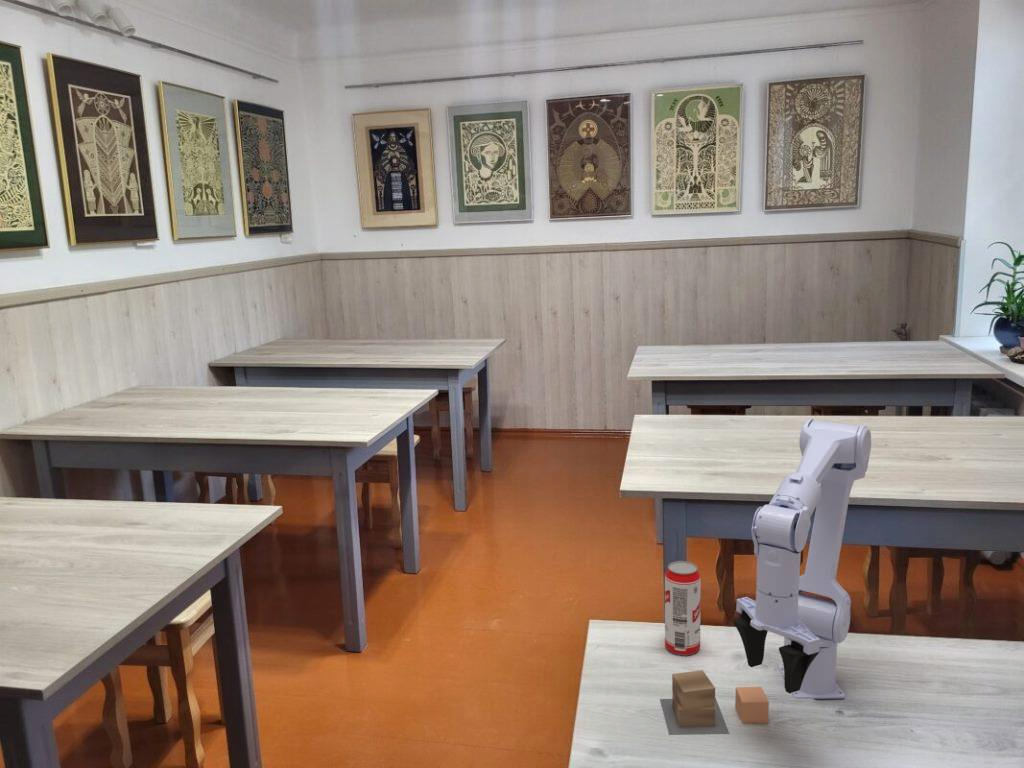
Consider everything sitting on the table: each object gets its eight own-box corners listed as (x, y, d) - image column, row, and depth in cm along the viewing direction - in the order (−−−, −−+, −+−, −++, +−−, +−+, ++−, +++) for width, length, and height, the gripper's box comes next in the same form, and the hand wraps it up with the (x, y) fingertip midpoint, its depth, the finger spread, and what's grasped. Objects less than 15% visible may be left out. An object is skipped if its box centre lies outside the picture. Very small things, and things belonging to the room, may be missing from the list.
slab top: (672, 691, 123) (672, 673, 122) (702, 687, 124) (702, 670, 123) (683, 710, 118) (683, 692, 117) (715, 705, 119) (715, 688, 118)
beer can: (662, 656, 139) (662, 572, 136) (666, 638, 145) (666, 558, 142) (698, 660, 137) (699, 576, 134) (701, 642, 143) (701, 561, 140)
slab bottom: (672, 705, 124) (672, 688, 124) (707, 704, 124) (707, 687, 123) (678, 727, 119) (678, 709, 118) (714, 726, 119) (715, 708, 118)
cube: (735, 709, 123) (735, 687, 122) (760, 709, 123) (761, 686, 122) (741, 725, 119) (742, 702, 118) (768, 725, 119) (768, 702, 118)
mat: (659, 701, 126) (659, 698, 126) (715, 700, 126) (715, 697, 126) (669, 736, 117) (669, 734, 117) (729, 735, 117) (729, 733, 117)
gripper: (721, 575, 115) (718, 660, 117) (793, 615, 102) (788, 710, 104) (758, 566, 118) (755, 649, 120) (833, 605, 105) (828, 697, 107)
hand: (773, 677), depth 113 cm, fingers open, 7 cm apart
